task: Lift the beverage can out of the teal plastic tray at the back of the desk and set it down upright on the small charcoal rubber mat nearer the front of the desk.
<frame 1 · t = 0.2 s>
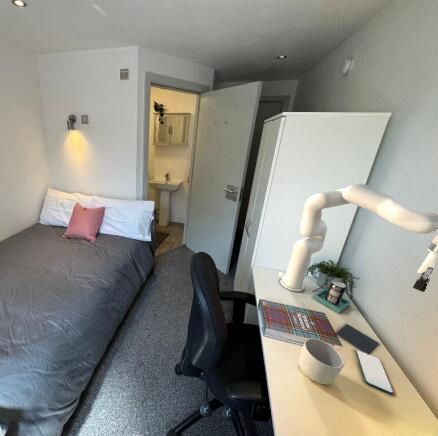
hand: (421, 286, 94), 31 cm above the table, tool pointing down, fingers open, 9 cm apart
mat: (356, 338, 106), on the table
beverage can: (331, 301, 129), resting on tray
planter: (314, 372, 90), on the table
smartphone: (372, 371, 91), on the table
tray: (331, 301, 129), on the table
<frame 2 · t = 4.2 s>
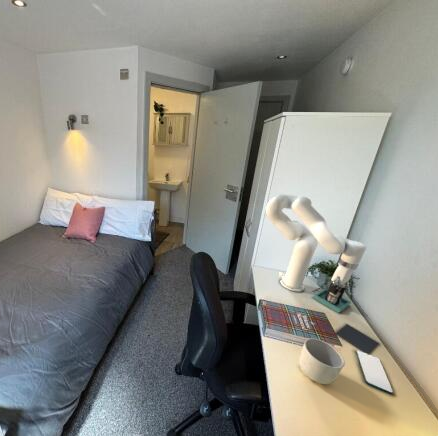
hand: (335, 291, 126), 8 cm above the table, tool pointing down, fingers closed on beverage can, 6 cm apart
beverage can: (331, 301, 129), resting on tray, touching gripper
everything else where it was.
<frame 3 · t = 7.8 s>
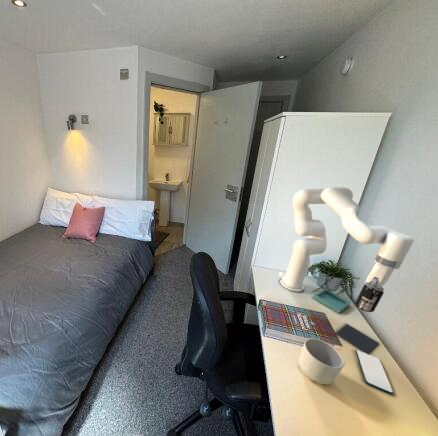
hand: (370, 295, 102), 22 cm above the table, tool pointing down, fingers closed on beverage can, 6 cm apart
beverage can: (363, 308, 105), point 14 cm above the table, touching gripper
everything else where it was.
when the fingers open (8 cm above the table, at t = 11.8 s): beverage can stays where it is, resting on mat.
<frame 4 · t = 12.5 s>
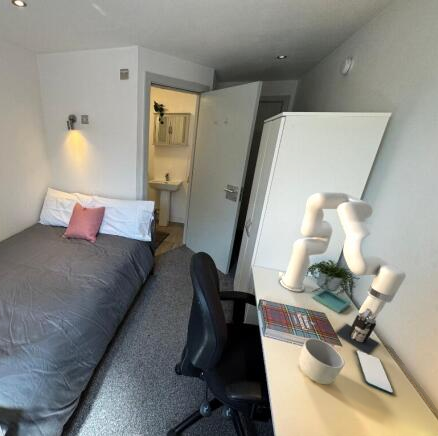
hand: (363, 323, 103), 9 cm above the table, tool pointing down, fingers open, 9 cm apart
beverage can: (356, 338, 106), resting on mat
everything else where it was.
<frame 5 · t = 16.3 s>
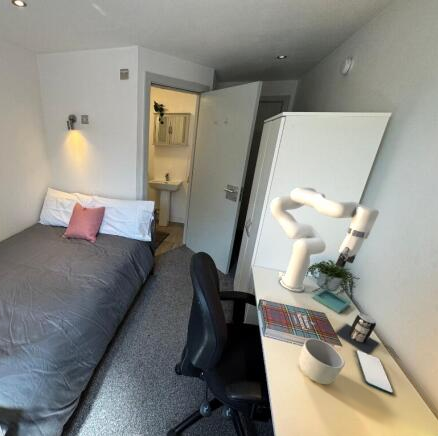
hand: (344, 264, 113), 28 cm above the table, tool pointing down, fingers open, 9 cm apart
nothing on the table moved.
at the end: beverage can inside the target area on the mat (0.0 cm from its centre), point 0.3 cm above the mat's base; beverage can tilted 0°; beverage can touching mat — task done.
